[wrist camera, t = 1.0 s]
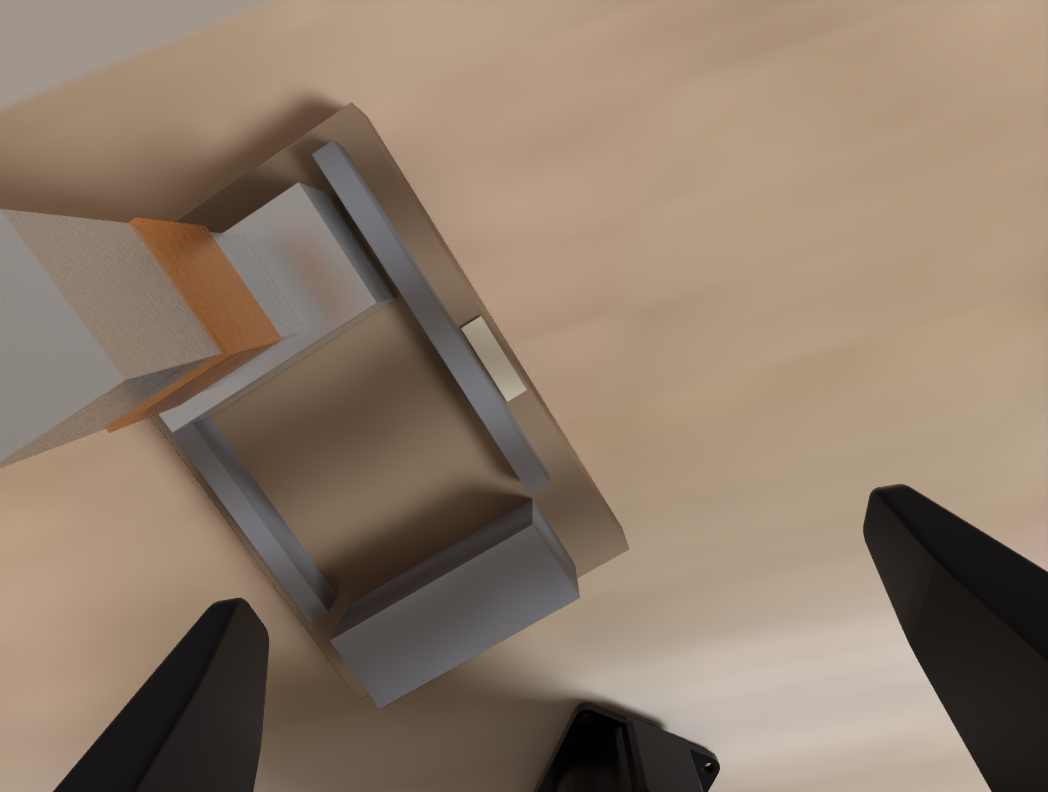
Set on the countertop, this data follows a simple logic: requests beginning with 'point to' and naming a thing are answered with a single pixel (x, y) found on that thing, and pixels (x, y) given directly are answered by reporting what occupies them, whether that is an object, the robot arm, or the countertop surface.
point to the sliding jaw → (166, 313)
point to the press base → (397, 449)
